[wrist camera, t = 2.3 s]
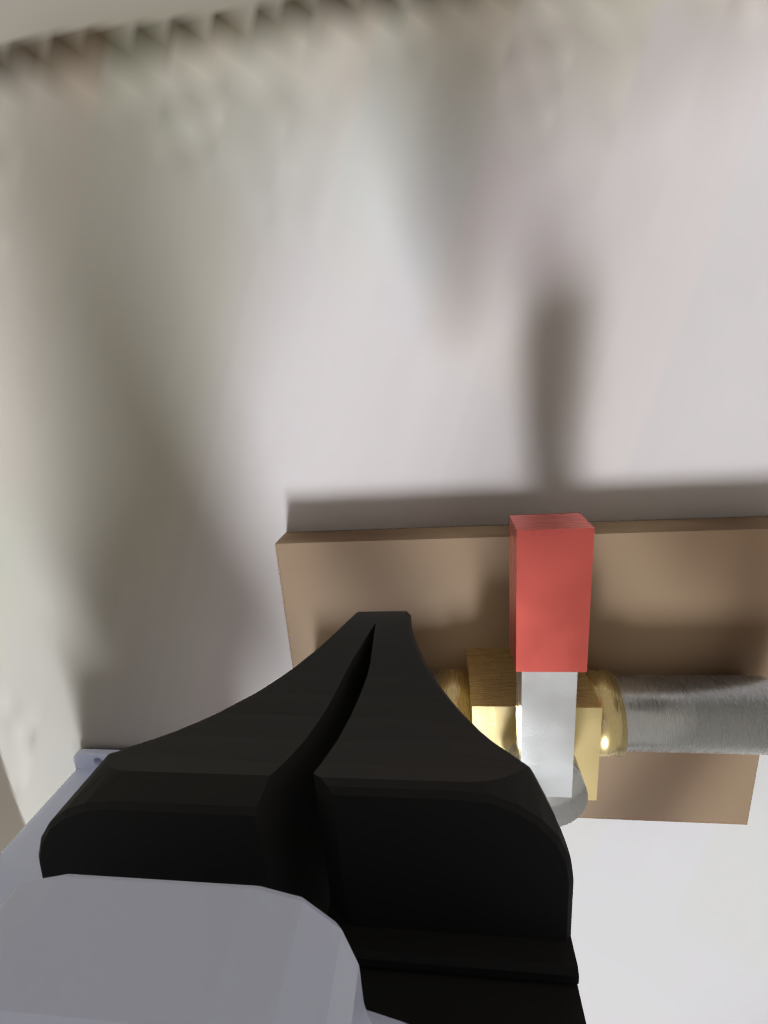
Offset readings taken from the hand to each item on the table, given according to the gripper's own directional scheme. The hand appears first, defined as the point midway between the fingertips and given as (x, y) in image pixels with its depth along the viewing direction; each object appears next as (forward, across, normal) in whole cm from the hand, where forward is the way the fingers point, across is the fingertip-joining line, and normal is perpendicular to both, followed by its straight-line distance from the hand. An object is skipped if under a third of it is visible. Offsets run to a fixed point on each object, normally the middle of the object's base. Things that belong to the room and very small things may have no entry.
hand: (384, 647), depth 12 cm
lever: (+4, -5, +3) cm, 7 cm away
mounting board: (+9, -4, +7) cm, 13 cm away
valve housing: (+8, -5, +7) cm, 12 cm away
